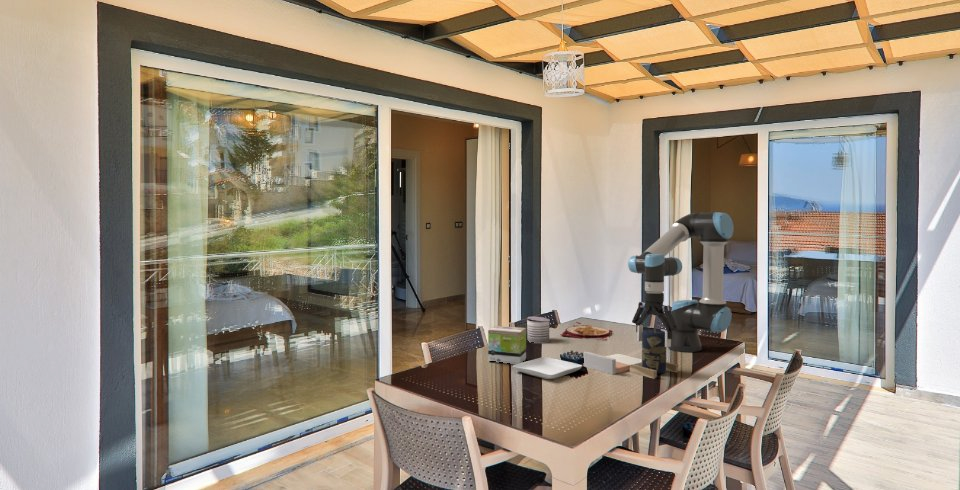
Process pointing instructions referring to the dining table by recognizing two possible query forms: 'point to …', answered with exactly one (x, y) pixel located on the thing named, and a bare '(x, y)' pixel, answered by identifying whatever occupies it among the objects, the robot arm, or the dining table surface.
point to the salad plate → (547, 367)
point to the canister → (654, 350)
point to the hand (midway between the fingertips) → (653, 343)
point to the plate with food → (587, 332)
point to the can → (538, 329)
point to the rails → (650, 372)
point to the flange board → (610, 362)
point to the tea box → (507, 344)
